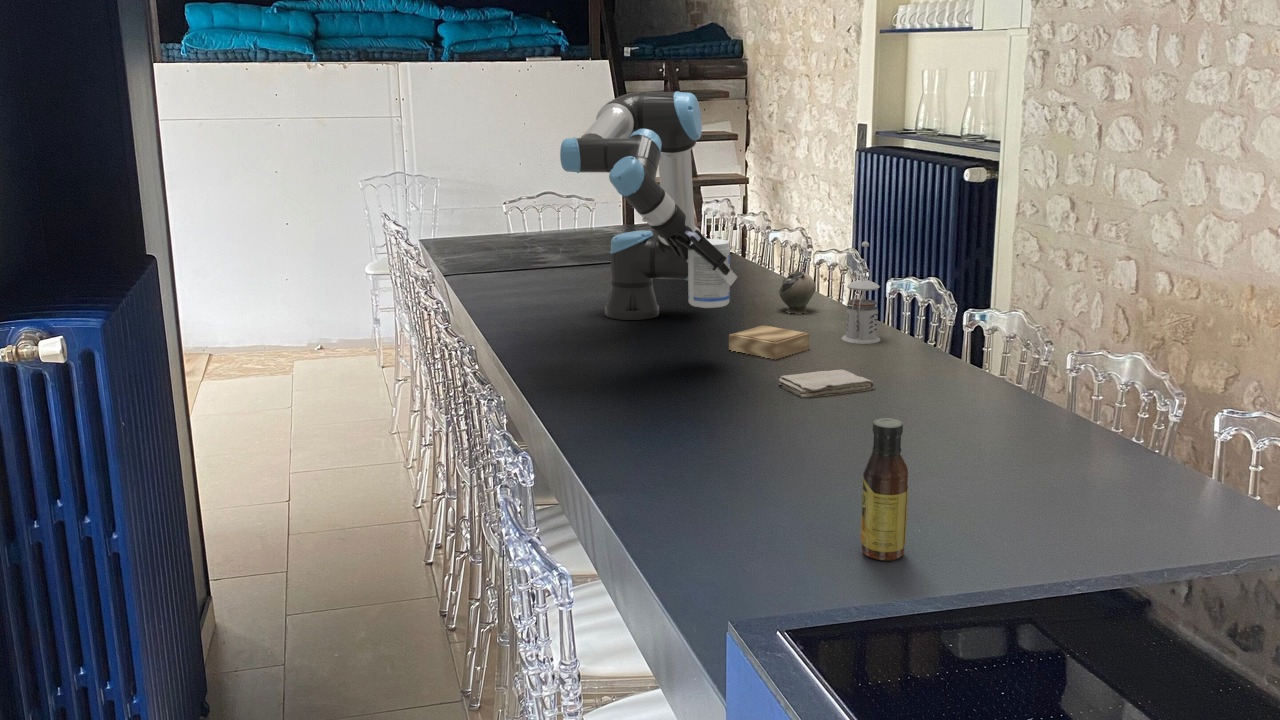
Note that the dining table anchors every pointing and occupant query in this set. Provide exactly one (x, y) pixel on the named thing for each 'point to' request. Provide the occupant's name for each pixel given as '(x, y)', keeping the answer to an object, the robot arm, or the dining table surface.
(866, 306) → the french press
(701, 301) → the supplement tub
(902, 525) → the sauce bottle
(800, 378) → the washcloth
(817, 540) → the dining table surface
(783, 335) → the riser
